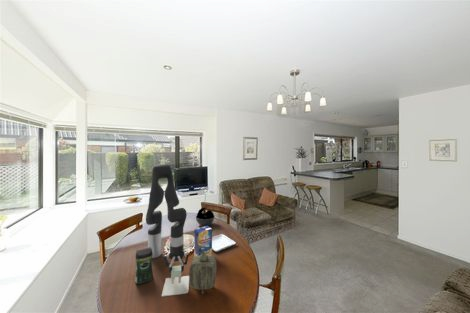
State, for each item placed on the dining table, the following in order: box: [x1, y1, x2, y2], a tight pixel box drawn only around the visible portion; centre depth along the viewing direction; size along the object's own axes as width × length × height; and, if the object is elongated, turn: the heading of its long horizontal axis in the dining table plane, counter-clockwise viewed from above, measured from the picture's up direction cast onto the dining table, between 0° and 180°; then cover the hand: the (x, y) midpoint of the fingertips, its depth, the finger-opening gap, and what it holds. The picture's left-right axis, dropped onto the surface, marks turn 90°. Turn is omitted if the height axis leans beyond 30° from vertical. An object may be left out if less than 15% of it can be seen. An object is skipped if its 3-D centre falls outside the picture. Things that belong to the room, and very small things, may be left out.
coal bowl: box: [195, 207, 216, 227], centre depth 194 cm, size 20×20×19 cm
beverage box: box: [193, 225, 213, 258], centre depth 132 cm, size 7×11×22 cm, turn 129°
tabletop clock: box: [188, 247, 218, 295], centre depth 101 cm, size 14×9×25 cm, turn 92°
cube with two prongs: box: [170, 264, 183, 284], centre depth 105 cm, size 5×5×7 cm
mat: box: [161, 275, 190, 298], centre depth 105 cm, size 14×14×1 cm
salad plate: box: [212, 233, 236, 253], centre depth 153 cm, size 21×21×3 cm
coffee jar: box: [134, 247, 154, 285], centre depth 110 cm, size 10×8×19 cm
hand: (176, 271), depth 105 cm, fingers closed on cube with two prongs, 5 cm apart
